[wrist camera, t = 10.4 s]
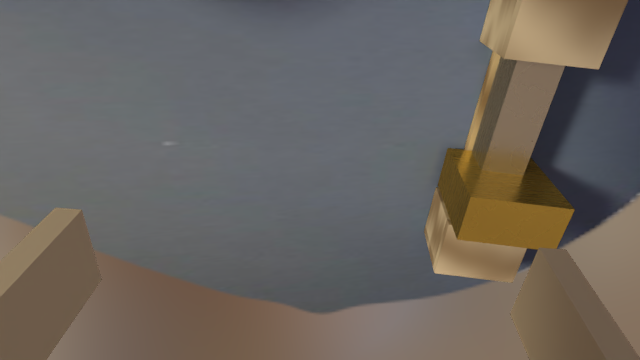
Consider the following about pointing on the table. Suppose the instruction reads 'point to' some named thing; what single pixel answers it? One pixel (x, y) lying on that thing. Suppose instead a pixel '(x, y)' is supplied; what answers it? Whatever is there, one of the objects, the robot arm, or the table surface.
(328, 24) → the table surface
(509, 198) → the golden wooden block
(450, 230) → the sleeve and socket
